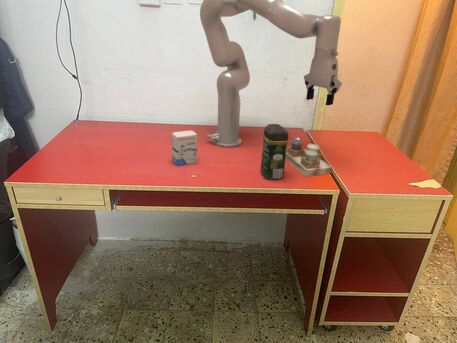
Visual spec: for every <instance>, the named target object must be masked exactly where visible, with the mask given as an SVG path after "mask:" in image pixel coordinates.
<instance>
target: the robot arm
mask: <svg viewBox="0 0 457 343" xmlns="http://www.w3.org/2000/svg"><path fill="white" fill-rule="evenodd" d="M247 11H251V12H253V13H255V14H257V15H258V16H260V17H262V18H264V19H265V20H267V21H268V22H269V23H271V24H272V25H273V26H275V27H277V28H278V29H279V30H281V31H283V32H285V33H286V34H288V35H289V36H292V37H294V38H296V39H300V40H301V39H302V40H303V39H307V38H313V37H315V46H314V51H313V57H312V59H311V63H310V67H309V73H307V74H305V75H304V76H303V79H304V80H303V81H304V84H305V86H306V87H305V88H306V90H307V91H306V101H310V100H314V96H315V87H318V88H322V89H323V88H324V89H326V91H327V94H326V100H325V106H331V105H333V104H334V100H335V95H336V94H337V92H338V91H340V88H341V86H342V85H343V82H342V81H341V80H340V79H339V78H338V77H339V76H338V74H339V61H338V58H337V57H338V55H339V52H338V46H339V45H338V43H339V38H340V29H341V21H342V20H341V17H340V16H339V15H327V14H326V15H317V14H316V15H314V14H307V13H306V14H304V13H302V12H300V11H298V10H296V9H294V8H292V7H291V6H289V5H287V4H286V3H285V2H283V0H202V3H201V5H200V10H199V18H200V22H201V23H200V24H201V25H202V28H203V31H204V34H205V38H206V42H207V44H208V49H209V51H210V54H211V58H212V61H213V63H214V65H215V66H216V67H219V68H226V70H223V71H222V72H220V74H219V75H218V77H217V79H216V90H217V124H216V125H217V130H216V131H214V132H213V133H212V134H211V133H209V134H206V136H205V137H206V140H209V139H210V140H211V141H213V143H214V144H215V145H217V146H219V147H225V148H232V147H233V148H234V147H238V146H240V145H242V141H243V140H242V139H241V138H240V137H239V131H240V117H241V116H240V115H241V97H240V91H242V90H243V89H245V88H247V87H248V86H249V84H250V82H251V81H250V80H251V75H250V71H249V67H248V63H247V59H246V55H245V53H244V50H243V48H242V47H241V45H240V43H238V42H237V41H232V40H231V41H230V38H229V36H228V31H227V28H226V26H225V25H224V24H225V23H224V22H223V21H222V18H226V17H228V18H229V17H231V18H232V17H234V16H237V15H240V14H242V13H244V12H247Z"/></svg>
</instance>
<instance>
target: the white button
mask: <svg viewBox="0 0 457 343" xmlns="http://www.w3.org/2000/svg"><path fill="white" fill-rule="evenodd" d="M319 148H320V146H319V145H318V144H316V143H307V147H306V149H307V150H314V151H317V152H318V151H319ZM318 153H319V152H318Z"/></svg>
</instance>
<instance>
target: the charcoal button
mask: <svg viewBox="0 0 457 343" xmlns="http://www.w3.org/2000/svg"><path fill="white" fill-rule="evenodd" d="M290 144H291V148H292V149H293V150H294V151H295V150H301V148H302V146H303V144H304V142H303V140H301V139H300V140H297V139H296V140H294V139H292V140H291V141H290Z"/></svg>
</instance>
